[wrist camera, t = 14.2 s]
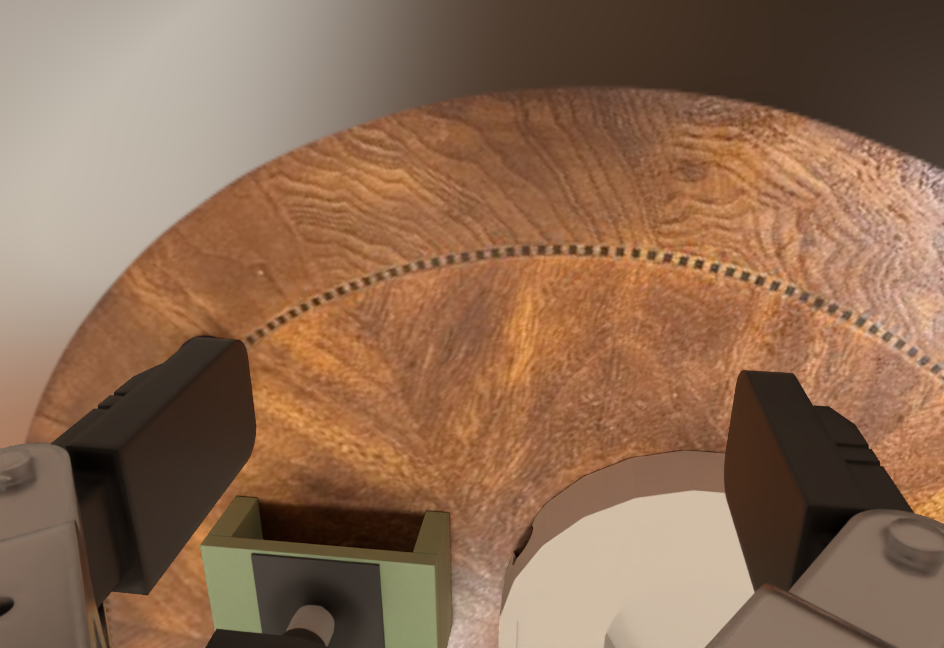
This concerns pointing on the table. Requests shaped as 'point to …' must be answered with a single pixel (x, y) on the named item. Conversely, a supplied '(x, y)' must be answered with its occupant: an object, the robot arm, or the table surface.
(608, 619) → the beige round base
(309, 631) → the light bulb
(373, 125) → the table surface
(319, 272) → the table surface
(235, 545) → the bench
